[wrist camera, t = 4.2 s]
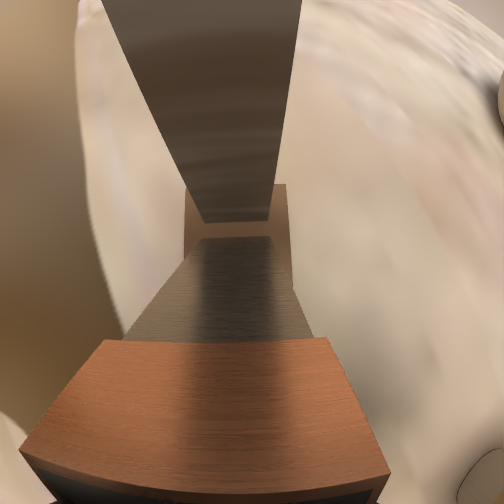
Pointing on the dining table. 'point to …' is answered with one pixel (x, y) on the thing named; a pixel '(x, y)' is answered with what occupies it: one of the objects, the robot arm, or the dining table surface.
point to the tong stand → (218, 105)
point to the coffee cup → (484, 481)
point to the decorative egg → (501, 99)
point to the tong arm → (212, 400)
